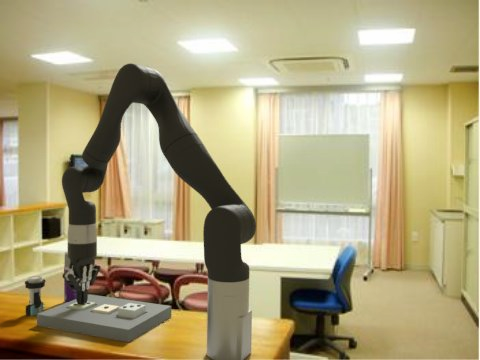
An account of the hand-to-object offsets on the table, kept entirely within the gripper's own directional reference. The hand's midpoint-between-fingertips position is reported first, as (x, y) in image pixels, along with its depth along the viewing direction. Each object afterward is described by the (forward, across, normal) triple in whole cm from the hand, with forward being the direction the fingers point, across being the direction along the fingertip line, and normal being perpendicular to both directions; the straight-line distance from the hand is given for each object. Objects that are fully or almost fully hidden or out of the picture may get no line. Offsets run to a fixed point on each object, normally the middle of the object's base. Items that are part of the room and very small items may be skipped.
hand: (82, 303), depth 127 cm
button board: (+4, 0, -8) cm, 9 cm away
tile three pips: (+1, 0, -16) cm, 16 cm away
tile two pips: (+3, 0, 0) cm, 3 cm away
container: (+4, +10, +12) cm, 16 cm away
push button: (+4, -2, +14) cm, 15 cm away
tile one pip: (+3, 0, -8) cm, 8 cm away
